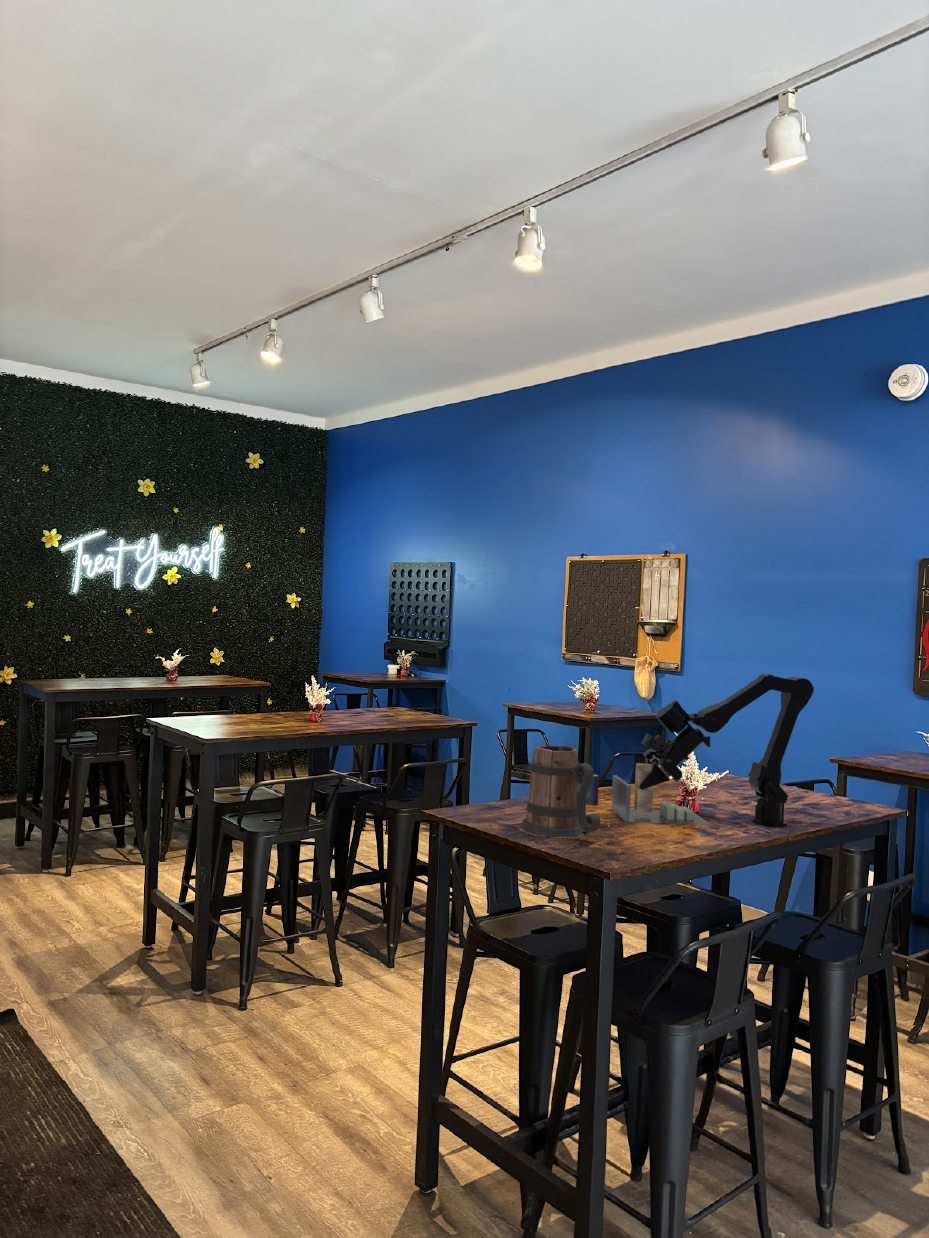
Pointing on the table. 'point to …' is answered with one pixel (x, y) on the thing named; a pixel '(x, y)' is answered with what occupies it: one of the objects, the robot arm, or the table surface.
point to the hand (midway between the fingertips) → (638, 787)
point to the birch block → (644, 796)
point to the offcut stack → (675, 812)
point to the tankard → (559, 794)
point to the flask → (592, 791)
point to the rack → (622, 808)
